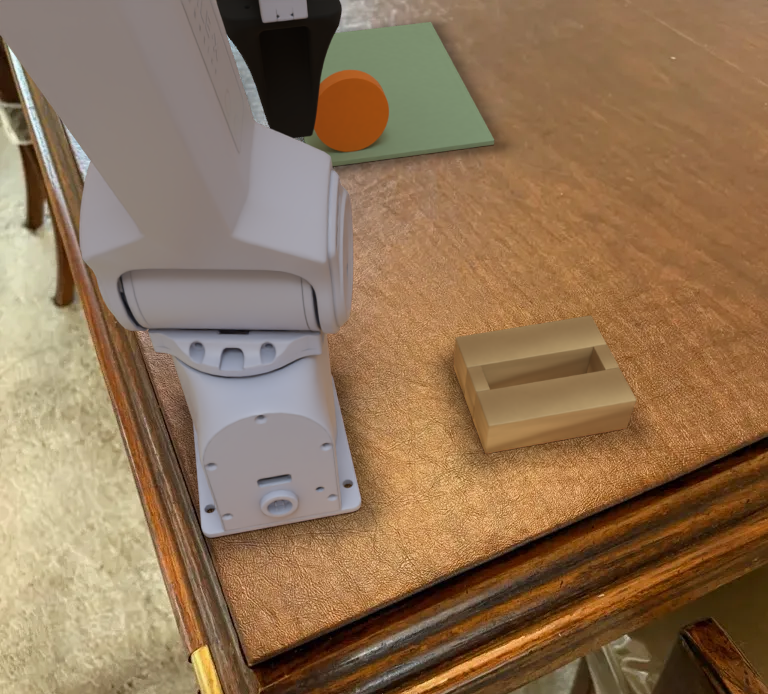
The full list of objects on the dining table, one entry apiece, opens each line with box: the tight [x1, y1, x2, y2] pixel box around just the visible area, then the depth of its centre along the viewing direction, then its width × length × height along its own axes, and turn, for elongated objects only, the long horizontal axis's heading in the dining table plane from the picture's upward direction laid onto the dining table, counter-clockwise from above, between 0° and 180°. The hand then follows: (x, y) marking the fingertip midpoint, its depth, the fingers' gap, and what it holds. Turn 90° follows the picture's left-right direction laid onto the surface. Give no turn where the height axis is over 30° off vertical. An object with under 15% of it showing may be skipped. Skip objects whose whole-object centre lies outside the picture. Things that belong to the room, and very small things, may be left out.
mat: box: [302, 21, 495, 167], centre depth 65 cm, size 20×14×1 cm
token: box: [314, 70, 389, 152], centre depth 57 cm, size 1×6×6 cm, turn 102°
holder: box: [452, 314, 637, 455], centre depth 44 cm, size 7×8×2 cm
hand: (284, 98), depth 45 cm, fingers open, 7 cm apart
